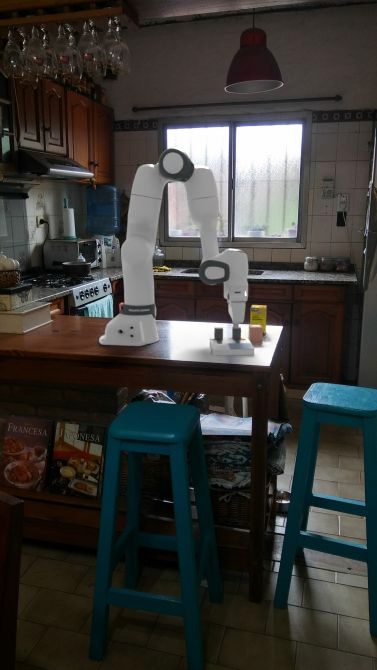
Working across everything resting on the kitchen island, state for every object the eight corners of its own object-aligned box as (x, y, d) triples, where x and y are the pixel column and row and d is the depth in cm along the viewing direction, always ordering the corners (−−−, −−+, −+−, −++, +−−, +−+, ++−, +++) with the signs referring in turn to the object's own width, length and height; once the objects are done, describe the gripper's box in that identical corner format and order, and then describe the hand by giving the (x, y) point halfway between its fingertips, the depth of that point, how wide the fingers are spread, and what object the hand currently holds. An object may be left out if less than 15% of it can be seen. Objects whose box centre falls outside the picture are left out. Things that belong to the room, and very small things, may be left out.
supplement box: (265, 335, 211) (265, 307, 208) (249, 334, 212) (250, 307, 209) (266, 332, 216) (266, 305, 214) (251, 331, 217) (251, 304, 215)
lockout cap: (250, 343, 198) (250, 327, 197) (248, 340, 202) (248, 324, 201) (262, 343, 198) (262, 326, 197) (260, 340, 203) (260, 324, 201)
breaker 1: (214, 339, 194) (214, 328, 194) (214, 338, 197) (214, 327, 196) (223, 339, 195) (223, 328, 194) (222, 338, 197) (222, 327, 196)
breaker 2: (232, 339, 195) (232, 328, 194) (232, 338, 197) (232, 327, 196) (240, 339, 195) (241, 328, 194) (240, 337, 197) (240, 327, 196)
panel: (212, 355, 182) (212, 348, 181) (209, 343, 199) (210, 337, 198) (254, 354, 182) (254, 348, 182) (247, 342, 199) (247, 336, 198)
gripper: (224, 289, 208) (224, 324, 211) (229, 297, 188) (229, 336, 191) (241, 288, 208) (240, 324, 211) (247, 297, 188) (247, 335, 191)
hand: (235, 329), depth 201 cm, fingers closed
